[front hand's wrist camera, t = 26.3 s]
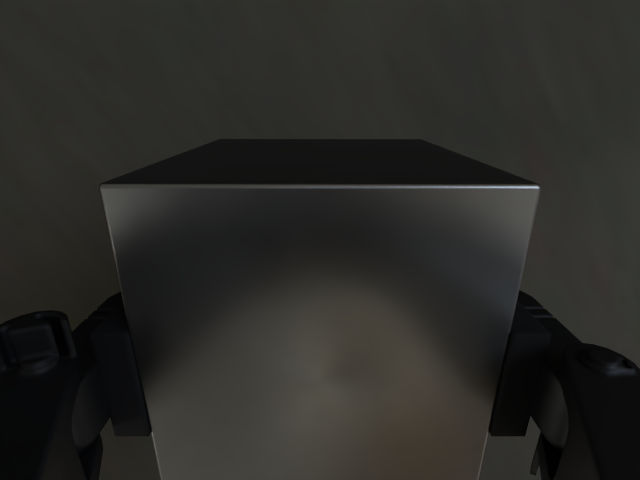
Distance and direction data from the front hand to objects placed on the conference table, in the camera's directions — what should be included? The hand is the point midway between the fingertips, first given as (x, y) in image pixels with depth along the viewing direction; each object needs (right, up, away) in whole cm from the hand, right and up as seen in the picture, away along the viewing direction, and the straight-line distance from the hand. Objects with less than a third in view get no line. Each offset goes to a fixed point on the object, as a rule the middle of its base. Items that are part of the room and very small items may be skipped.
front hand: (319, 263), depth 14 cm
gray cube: (0, +1, +2) cm, 2 cm away
